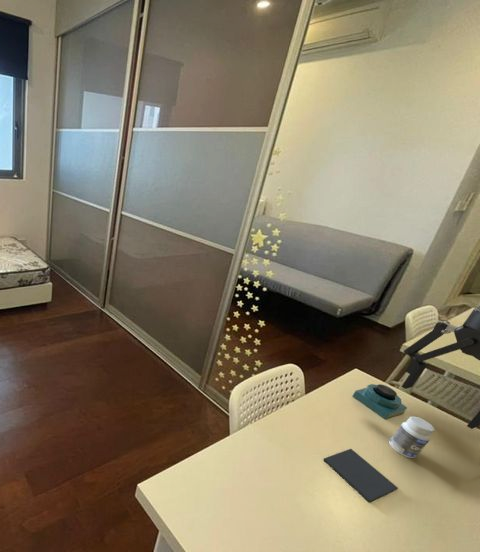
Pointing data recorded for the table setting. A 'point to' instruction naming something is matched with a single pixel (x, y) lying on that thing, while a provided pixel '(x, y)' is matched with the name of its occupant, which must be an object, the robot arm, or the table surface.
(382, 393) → the button
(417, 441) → the pill bottle
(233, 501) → the table surface
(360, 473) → the mat
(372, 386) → the button box
